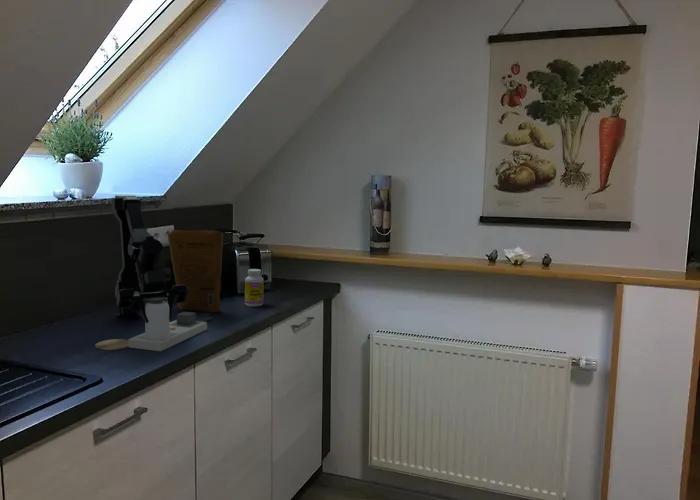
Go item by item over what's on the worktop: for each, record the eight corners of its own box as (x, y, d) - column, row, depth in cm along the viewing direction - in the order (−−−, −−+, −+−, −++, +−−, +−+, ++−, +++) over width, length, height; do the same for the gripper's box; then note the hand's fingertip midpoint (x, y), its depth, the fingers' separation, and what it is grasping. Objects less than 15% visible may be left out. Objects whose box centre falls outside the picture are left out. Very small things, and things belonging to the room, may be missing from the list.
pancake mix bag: (219, 314, 202) (218, 231, 198) (167, 310, 206) (166, 228, 202) (227, 310, 208) (227, 229, 205) (177, 306, 213) (176, 227, 209)
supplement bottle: (248, 307, 213) (248, 271, 211) (242, 303, 219) (242, 268, 217) (266, 306, 216) (266, 270, 214) (260, 302, 222) (260, 268, 220)
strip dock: (128, 347, 163) (128, 338, 163) (178, 326, 186) (178, 318, 186) (160, 351, 161) (160, 342, 160) (207, 329, 183) (207, 321, 183)
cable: (198, 327, 185) (198, 324, 185) (195, 327, 186) (195, 323, 185) (213, 319, 196) (213, 316, 195) (210, 319, 196) (210, 316, 196)
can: (162, 347, 164) (161, 304, 162) (140, 345, 165) (139, 302, 164) (174, 341, 170) (173, 299, 169) (153, 339, 171) (152, 297, 170)
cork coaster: (87, 347, 162) (87, 346, 162) (110, 339, 170) (110, 337, 170) (116, 351, 159) (116, 350, 159) (137, 342, 168) (137, 341, 168)
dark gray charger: (176, 324, 180) (176, 314, 179) (184, 321, 184) (184, 311, 183) (188, 325, 179) (188, 315, 178) (195, 322, 182) (195, 312, 182)
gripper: (117, 260, 163) (127, 308, 155) (186, 256, 173) (198, 302, 165) (112, 283, 171) (121, 331, 163) (178, 279, 181) (190, 323, 173)
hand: (158, 321), depth 166 cm, fingers closed on can, 6 cm apart
